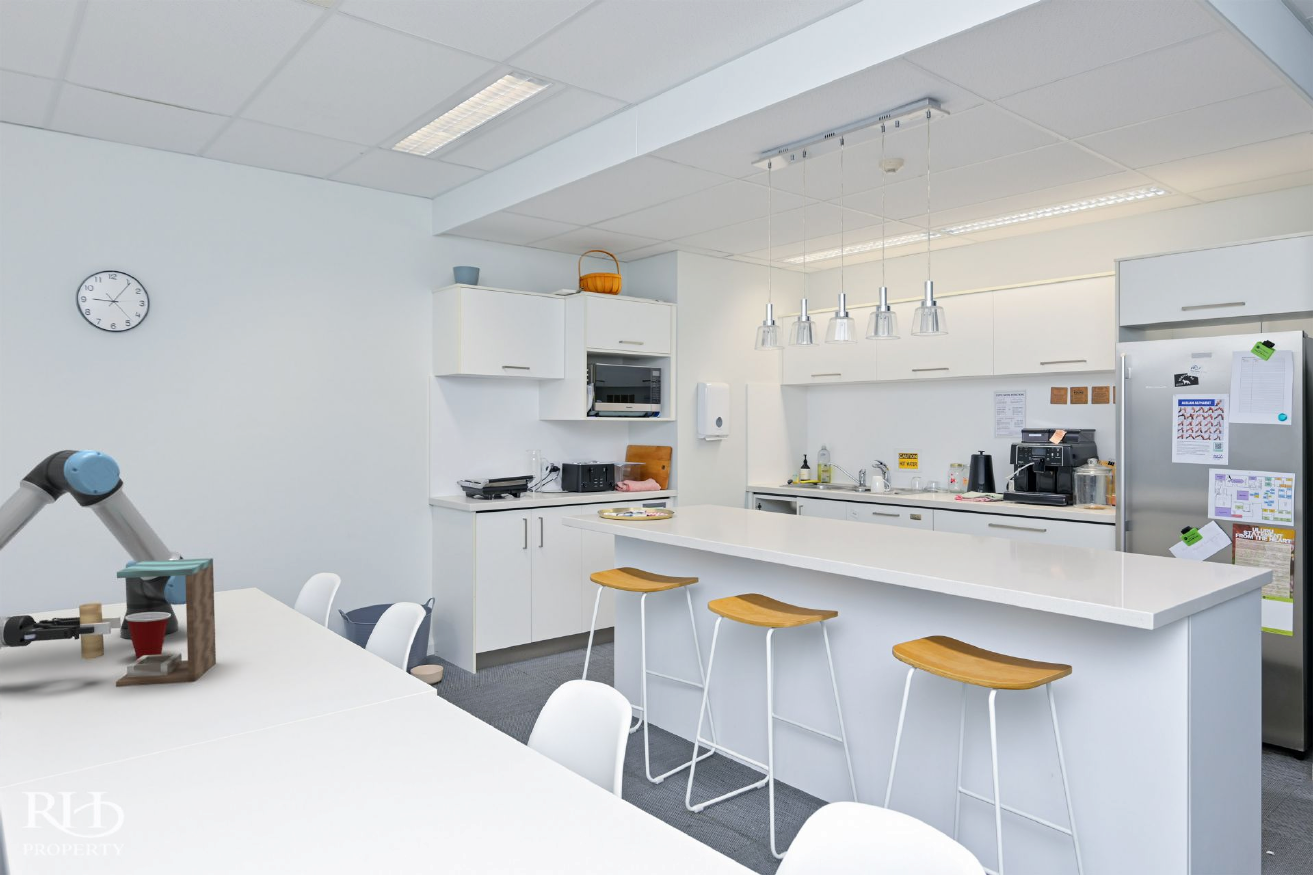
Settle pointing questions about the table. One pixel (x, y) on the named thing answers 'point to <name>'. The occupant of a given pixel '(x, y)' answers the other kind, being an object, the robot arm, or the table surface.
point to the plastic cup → (148, 632)
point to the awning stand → (198, 624)
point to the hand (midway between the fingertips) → (114, 625)
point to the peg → (91, 643)
